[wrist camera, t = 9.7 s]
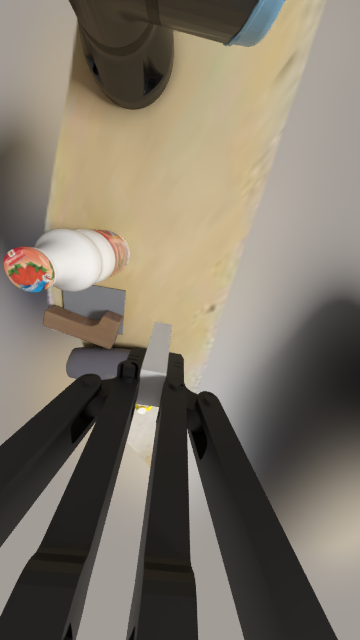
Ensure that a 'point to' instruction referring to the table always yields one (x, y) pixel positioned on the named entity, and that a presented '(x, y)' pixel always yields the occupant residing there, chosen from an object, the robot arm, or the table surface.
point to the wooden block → (85, 325)
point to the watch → (142, 409)
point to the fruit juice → (67, 260)
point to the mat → (95, 302)
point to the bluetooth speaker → (95, 361)
